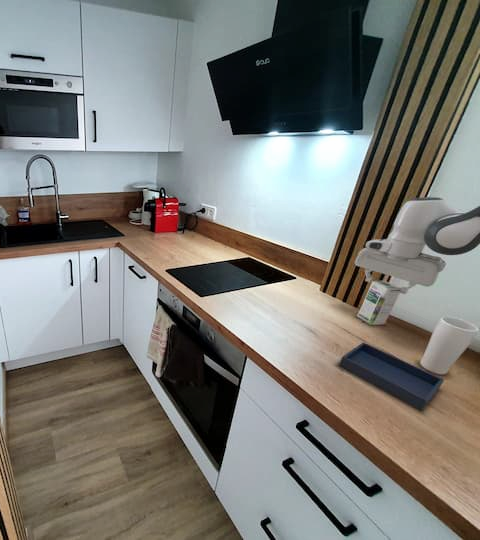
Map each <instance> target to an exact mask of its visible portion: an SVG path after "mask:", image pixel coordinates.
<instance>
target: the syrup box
mask: <svg viewBox="0 0 480 540" xmlns="http://www.w3.org/2000/svg"><path fill="white" fill-rule="evenodd" d="M401 288H402V287H401V286H398V285H395V284H393V283H391V282H388V281H386V280H372V282H371V284H370V286H369V288H368V290H367V293H366V294H365V298H364V300H363V302H362V305H361V307H360V309H359V311H358V313H357V316H356V317H357V318H359V319H361V320H362V321H364V322H366V323H367V324H369V325H370V326H377V325H379V326H380V325H385V324H386V323H387V320H388V318H389V316H390V314H391V312H392V310H393V308H394V306H395V305H396V302H397V300H398V298H399V296H400V294H401V293H400V292H399V291H400V289H401Z"/></svg>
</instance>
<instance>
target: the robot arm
mask: <svg viewBox="0 0 480 540" xmlns="http://www.w3.org/2000/svg"><path fill="white" fill-rule="evenodd" d="M479 245H480V205H478V206H476V207H475V208H473V209H472V210H469V211H467V212H465V211H462V210H460V209H458V208H456V207H454V206H452V205H451V204H449V203H448V202H446V200H445V199H444V198H441V197H435V196H433V197H432V196H427V197H426V196H424V197H415V198H412V199H409V200H408V201H405V203H404V204H403V206H402V207H401V209H400V210H399V212H398V214H397V215H396V218H395V221H394V222H393V229H392V231H391V232H390V233H389V234H388V236H387V238H375V239H370V240H369V241H367V242H366V243H365V247H363V248H362V249H361V250H359V252H358V254H357V256H356V258H355V260H354V264H355V266H357V267H358V268H359V267H360V268H362V269H364V274H365V279H364V281H365V282H367V283H372V282H373V280H374V277H373V276H371V272H376V273H378V274H383V275H386V276H389V277H393V278H395V279H399V280H403V281H406V282H408V283H407V285H408V286H402V287H400V288H401V289H400V291H399V292H400V294H403V295H406V294H407V293H408V291H409V290H410V289H411V288H414V287H415V286H417V285H420V286H423V287H426V288H427V287H431V286H434V285H435V283H436V282H437V279H438V276H439V274H440V273H441V272H442V271H444V269H445V267H446V263H447V262H446V261H445V260H444V259H442V257H439V256H435V255H431V254H428V253H424V252H423V251H424V248H425V246H426V247H427V248H428V249H430V250H431V251H432V252H435V253H436V254H440V255H444V256H459V255H463V254H466V253H467V254H468V253H469V252H472V251H473V250H475V248H477V247H478V246H479Z"/></svg>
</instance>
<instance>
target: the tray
mask: <svg viewBox="0 0 480 540" xmlns="http://www.w3.org/2000/svg"><path fill="white" fill-rule="evenodd" d="M338 366H339V367H341V368H343V369H344V370H346V371H348V372H350V373H352V374H353V375H355V376H357V377H358V378H361V379H363V380H364V381H366V382H368V383H369V384H371V385H373V386H374V387H377V388H379V389H381V390H382V391H385V392H386V393H388V394H390V395H392V396H394V397H395V398H397V399H398V400H401V401H403V402H404V403H406V404H408V405H410V406H412V407H413V408H415V409H416V410H419V411H421V412H422V411H423V410H424V408H425V407H426V406H427V404H428V403H429V402H430V401H431V399H432V398H433V397H434V396H435V394H436V393H437V392H438V391H439V389H440V387H441V386H442V385H443V383H444V381H445V379H444V378H443V377H440V376H437V375H435V374H434V373H432V372H430V371H428V370H426V369H425V370H424V369H423V368H420V367H418V366H416V365H413V364H411V363H410V362H408V361H406V360H403V359H401V358H399V357H396V356H395V355H392V354H390V353H388V352H386V351H384V350H382V349H379V348H377V347H375V346H373V345H371V344H369V343H367V342H364V341H363V342H361V343H359V345H357V346H355V347H354V348H353V349H352V350H350V351H348V352H347V353H345V354H344V355H343V356H342V357H341V359H340V362H339V364H338Z"/></svg>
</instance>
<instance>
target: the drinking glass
mask: <svg viewBox="0 0 480 540" xmlns="http://www.w3.org/2000/svg"><path fill="white" fill-rule="evenodd" d="M478 332H479V328H478V327H477V326H476V325H474V324H473V323H471V322H470V321H469V322H468V321H466V320H463V319H460V318H457V317H453V316H442V317H440V319H439V320H438V321H437V324H436V326H435V327H434V329H433V331H432V333H431V336H430V337H429V341H428V344H427V346H426V348H425V351H424V353H423V355H422V358H421V359H420V366H421V367H422V368H423V369H425V370H426V371H427V372H429V373H432V374H437V375H446V374H448V372H449V371H450V369H451V368H452V366H453V365H454V364H455V363H456V362H457V361H458V360H459V358H460V357H461V355H463V354H464V352H465V351H466V349H467V348H468V347H469V346H470V345H471V343H472V342H473V340H474V339H475V337H476V336H477V334H478Z"/></svg>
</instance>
